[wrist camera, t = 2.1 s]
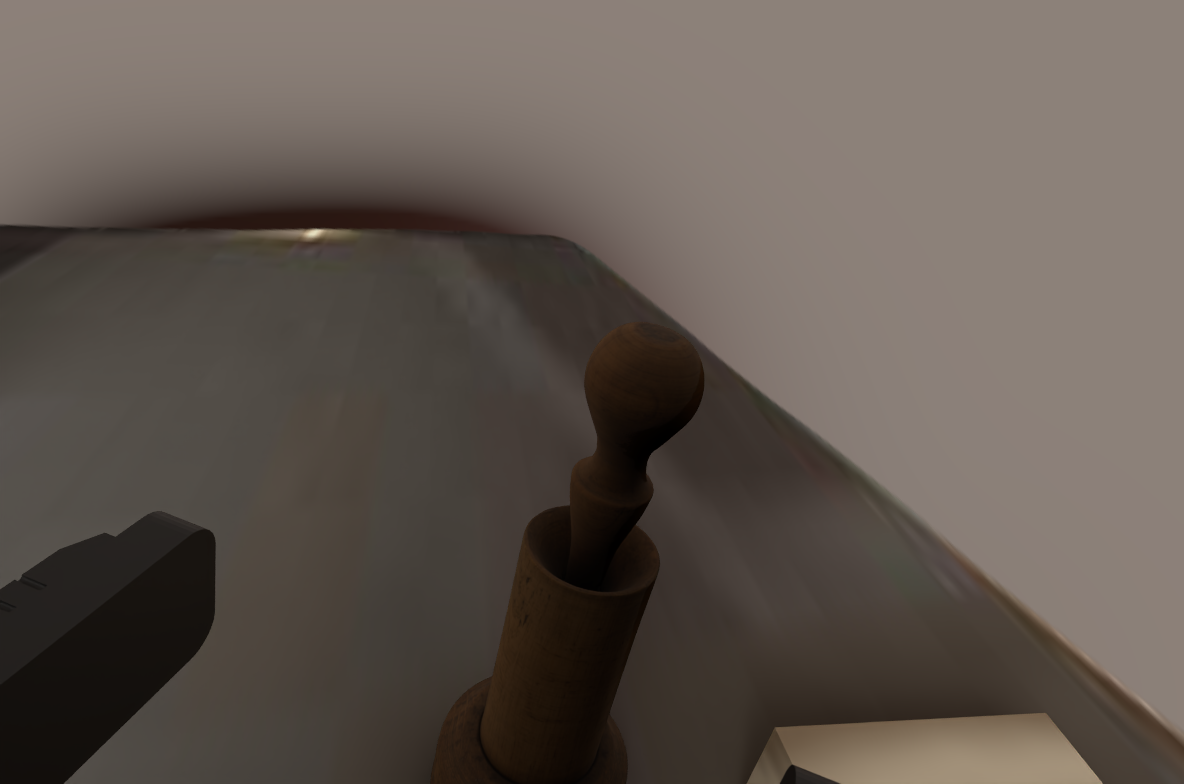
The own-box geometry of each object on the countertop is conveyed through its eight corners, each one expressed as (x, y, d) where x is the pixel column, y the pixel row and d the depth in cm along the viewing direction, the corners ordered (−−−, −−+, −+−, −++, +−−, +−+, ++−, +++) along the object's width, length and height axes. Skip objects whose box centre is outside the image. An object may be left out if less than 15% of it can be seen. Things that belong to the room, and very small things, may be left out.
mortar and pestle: (417, 719, 30) (503, 265, 22) (583, 702, 33) (719, 287, 24) (444, 904, 25) (571, 399, 16) (639, 868, 27) (839, 410, 19)
